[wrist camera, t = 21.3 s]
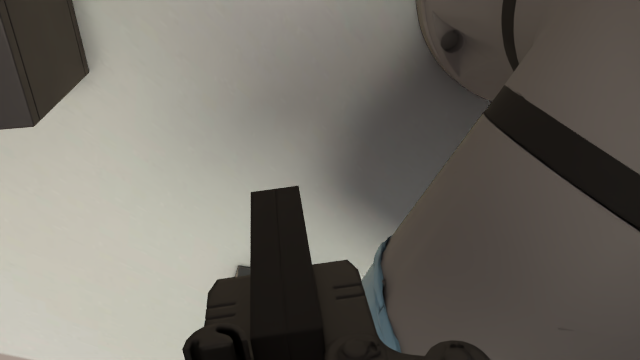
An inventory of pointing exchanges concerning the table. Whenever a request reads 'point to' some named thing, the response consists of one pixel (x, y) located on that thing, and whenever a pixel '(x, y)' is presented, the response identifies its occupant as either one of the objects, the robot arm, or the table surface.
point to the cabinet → (37, 59)
